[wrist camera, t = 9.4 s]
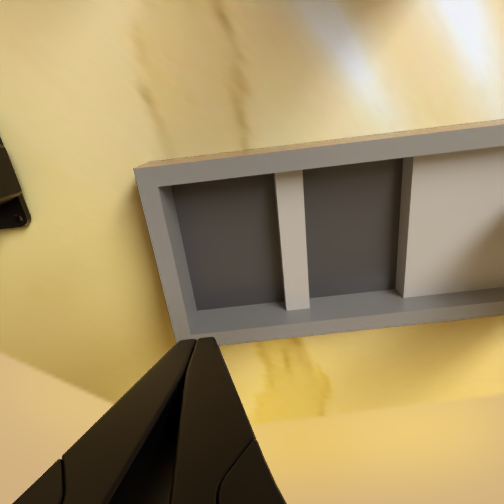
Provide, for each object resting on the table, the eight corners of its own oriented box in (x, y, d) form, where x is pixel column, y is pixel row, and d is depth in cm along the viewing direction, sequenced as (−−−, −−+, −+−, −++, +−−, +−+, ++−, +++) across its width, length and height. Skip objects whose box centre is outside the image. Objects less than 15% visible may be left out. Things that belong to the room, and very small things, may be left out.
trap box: (186, 322, 23) (177, 350, 20) (149, 161, 19) (133, 168, 16) (620, 274, 22) (674, 296, 19) (682, 97, 18) (763, 92, 15)
